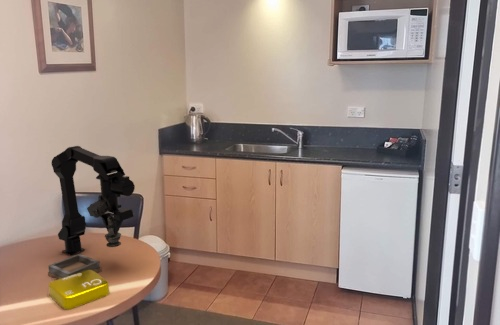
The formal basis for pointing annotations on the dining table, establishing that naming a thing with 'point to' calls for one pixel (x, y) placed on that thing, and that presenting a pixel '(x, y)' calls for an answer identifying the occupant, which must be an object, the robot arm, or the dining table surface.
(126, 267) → the dining table surface
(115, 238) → the dark grey chess piece
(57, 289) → the element tile
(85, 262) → the socket
